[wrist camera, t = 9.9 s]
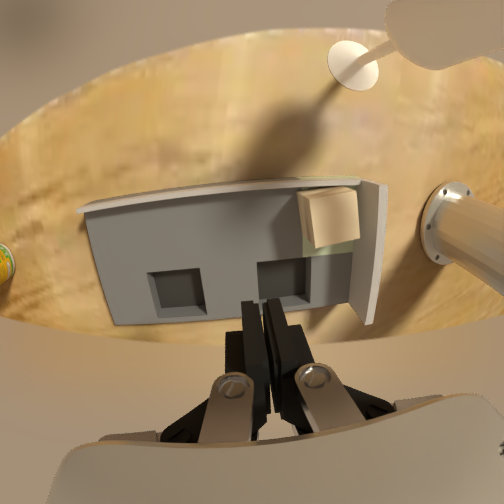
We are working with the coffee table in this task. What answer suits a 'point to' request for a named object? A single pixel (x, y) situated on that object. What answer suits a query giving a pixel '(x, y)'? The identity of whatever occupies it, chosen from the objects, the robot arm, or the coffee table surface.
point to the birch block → (328, 215)
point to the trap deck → (231, 250)
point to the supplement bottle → (6, 264)
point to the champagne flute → (424, 38)
